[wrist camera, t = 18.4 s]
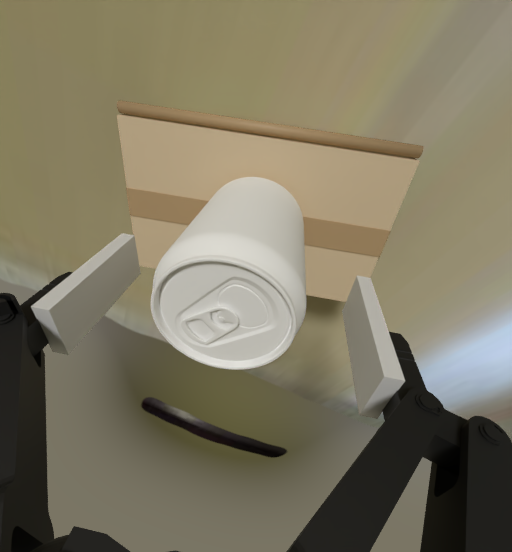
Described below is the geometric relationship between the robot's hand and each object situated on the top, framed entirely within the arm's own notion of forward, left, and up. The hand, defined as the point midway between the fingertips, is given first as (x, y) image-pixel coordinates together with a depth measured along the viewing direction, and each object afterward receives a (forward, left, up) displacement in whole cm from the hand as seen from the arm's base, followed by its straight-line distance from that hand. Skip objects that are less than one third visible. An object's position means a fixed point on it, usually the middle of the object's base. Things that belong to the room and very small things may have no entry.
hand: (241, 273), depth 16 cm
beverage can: (0, 0, -8) cm, 8 cm away
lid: (0, 0, -9) cm, 9 cm away
